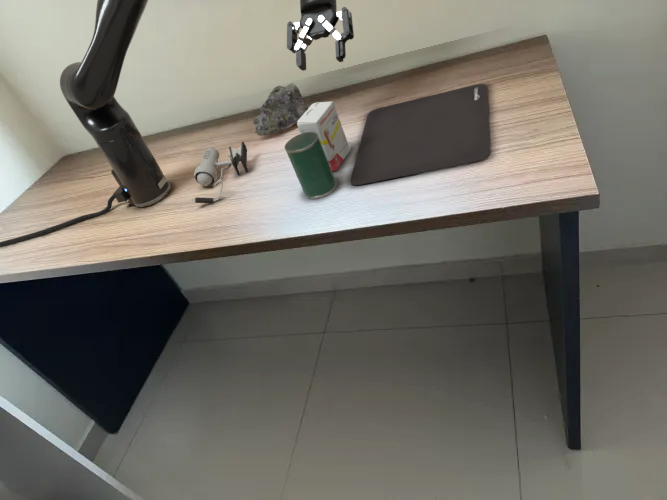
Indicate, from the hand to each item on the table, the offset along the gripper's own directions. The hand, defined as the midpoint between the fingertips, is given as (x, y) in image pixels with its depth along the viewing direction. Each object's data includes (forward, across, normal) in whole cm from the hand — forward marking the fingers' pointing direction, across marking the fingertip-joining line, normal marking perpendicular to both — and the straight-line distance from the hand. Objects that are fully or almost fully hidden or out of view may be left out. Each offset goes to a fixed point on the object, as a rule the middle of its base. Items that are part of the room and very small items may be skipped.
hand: (320, 65), depth 132 cm
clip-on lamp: (+21, +27, -3) cm, 34 cm away
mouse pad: (+15, -18, -9) cm, 25 cm away
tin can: (+26, 0, +2) cm, 26 cm away
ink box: (+19, 0, -5) cm, 20 cm away
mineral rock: (+4, +19, -20) cm, 28 cm away
